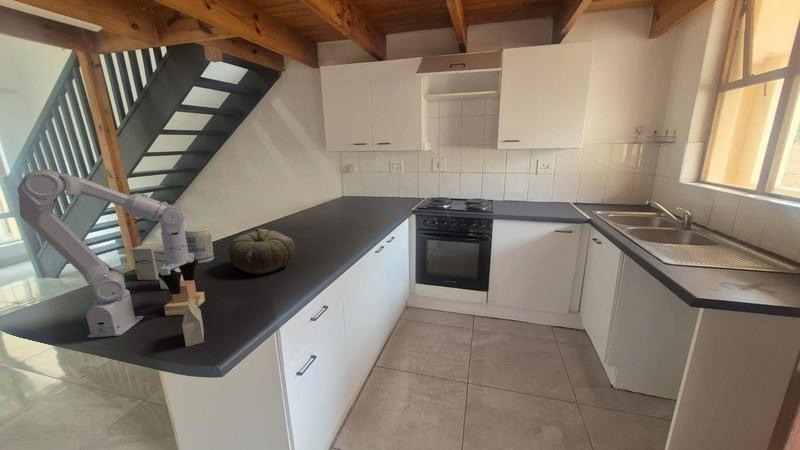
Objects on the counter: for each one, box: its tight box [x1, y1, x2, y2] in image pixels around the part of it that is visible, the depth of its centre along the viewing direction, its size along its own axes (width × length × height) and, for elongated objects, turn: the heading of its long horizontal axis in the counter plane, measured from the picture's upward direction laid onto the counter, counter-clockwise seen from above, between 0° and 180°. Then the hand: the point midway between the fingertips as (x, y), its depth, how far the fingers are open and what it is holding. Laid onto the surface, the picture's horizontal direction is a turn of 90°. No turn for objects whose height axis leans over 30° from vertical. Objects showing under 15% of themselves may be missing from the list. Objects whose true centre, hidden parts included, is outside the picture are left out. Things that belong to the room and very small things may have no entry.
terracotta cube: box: [171, 279, 197, 302], centre depth 97 cm, size 4×4×5 cm
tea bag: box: [181, 298, 205, 348], centre depth 81 cm, size 4×7×10 cm, turn 31°
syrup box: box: [153, 248, 184, 290], centre depth 112 cm, size 6×6×14 cm
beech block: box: [163, 291, 206, 316], centre depth 98 cm, size 9×7×3 cm
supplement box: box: [131, 243, 164, 281], centre depth 121 cm, size 7×7×13 cm
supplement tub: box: [184, 226, 215, 265], centre depth 139 cm, size 10×10×15 cm
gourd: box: [228, 228, 296, 275], centre depth 130 cm, size 25×25×17 cm
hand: (182, 288), depth 97 cm, fingers open, 7 cm apart
